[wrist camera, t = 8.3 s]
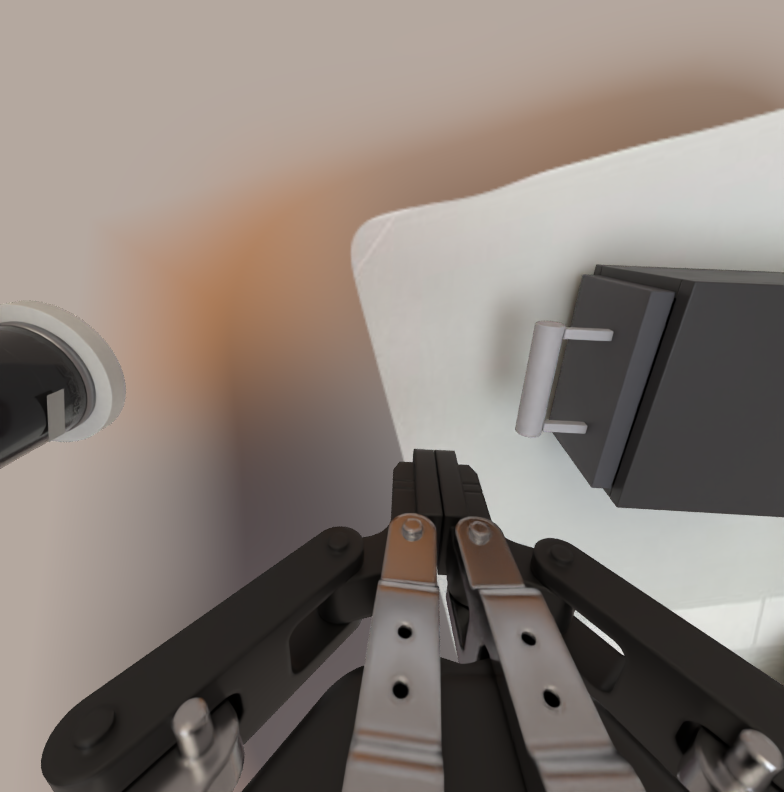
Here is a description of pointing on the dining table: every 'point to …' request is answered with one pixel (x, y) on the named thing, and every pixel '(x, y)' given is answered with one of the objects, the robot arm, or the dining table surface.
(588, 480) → the drawer
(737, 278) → the cabinet
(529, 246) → the dining table surface
